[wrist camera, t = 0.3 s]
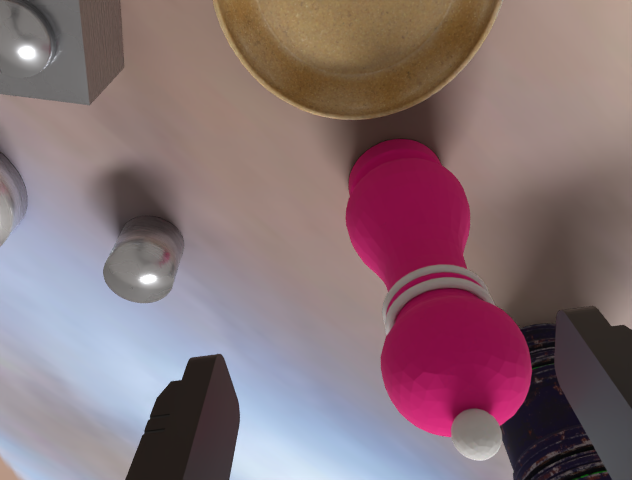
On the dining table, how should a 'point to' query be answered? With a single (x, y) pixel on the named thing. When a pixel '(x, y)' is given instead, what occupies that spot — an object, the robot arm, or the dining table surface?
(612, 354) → the robot arm
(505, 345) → the pepper mill
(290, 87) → the plant saucer
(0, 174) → the ratchet
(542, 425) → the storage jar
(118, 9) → the socket
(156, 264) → the socket
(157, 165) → the dining table surface
